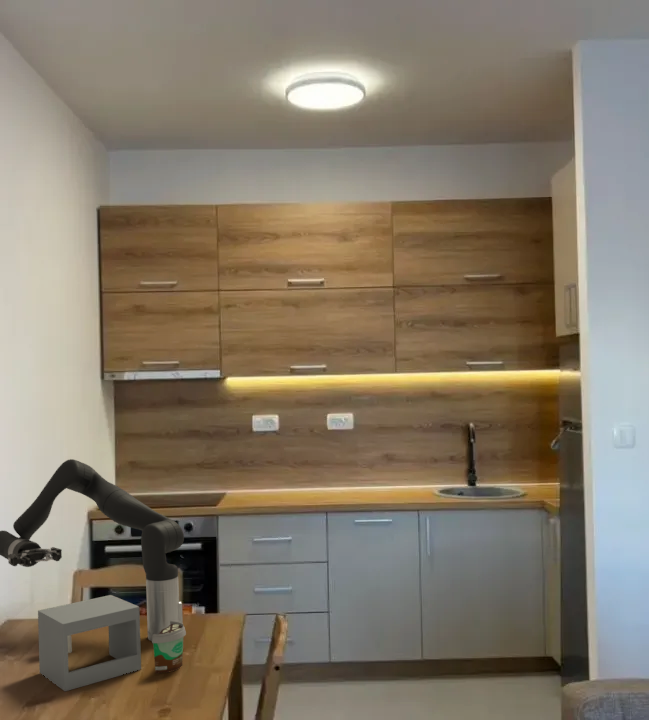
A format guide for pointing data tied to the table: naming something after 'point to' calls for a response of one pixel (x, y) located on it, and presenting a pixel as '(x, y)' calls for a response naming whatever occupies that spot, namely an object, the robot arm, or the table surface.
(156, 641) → the food container
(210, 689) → the table surface
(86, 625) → the open box frame
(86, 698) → the table surface
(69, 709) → the table surface
